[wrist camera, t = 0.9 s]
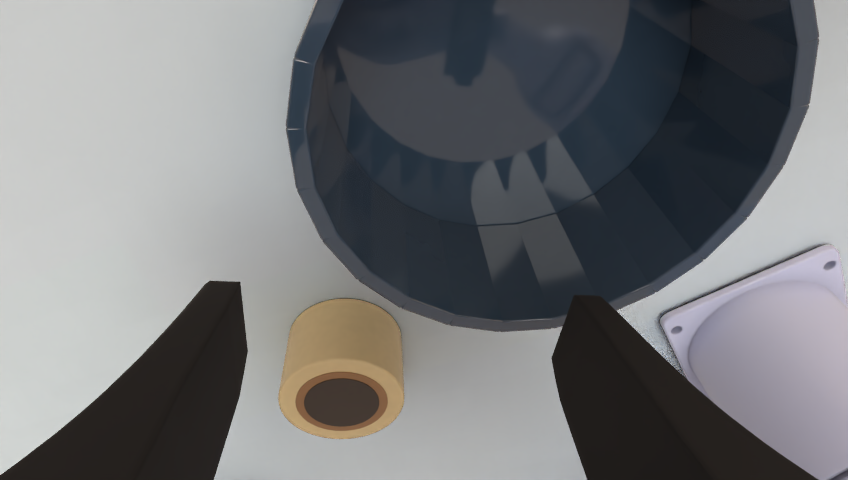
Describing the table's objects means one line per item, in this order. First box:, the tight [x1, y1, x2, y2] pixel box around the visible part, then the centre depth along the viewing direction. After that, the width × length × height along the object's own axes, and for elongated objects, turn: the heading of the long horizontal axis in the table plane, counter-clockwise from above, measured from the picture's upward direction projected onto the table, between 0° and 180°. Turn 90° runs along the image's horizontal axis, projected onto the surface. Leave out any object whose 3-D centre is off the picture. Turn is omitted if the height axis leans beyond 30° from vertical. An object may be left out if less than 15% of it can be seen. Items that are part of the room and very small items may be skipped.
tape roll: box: [278, 299, 404, 439], centre depth 24 cm, size 5×5×4 cm
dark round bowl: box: [286, 0, 819, 332], centre depth 16 cm, size 13×13×6 cm
